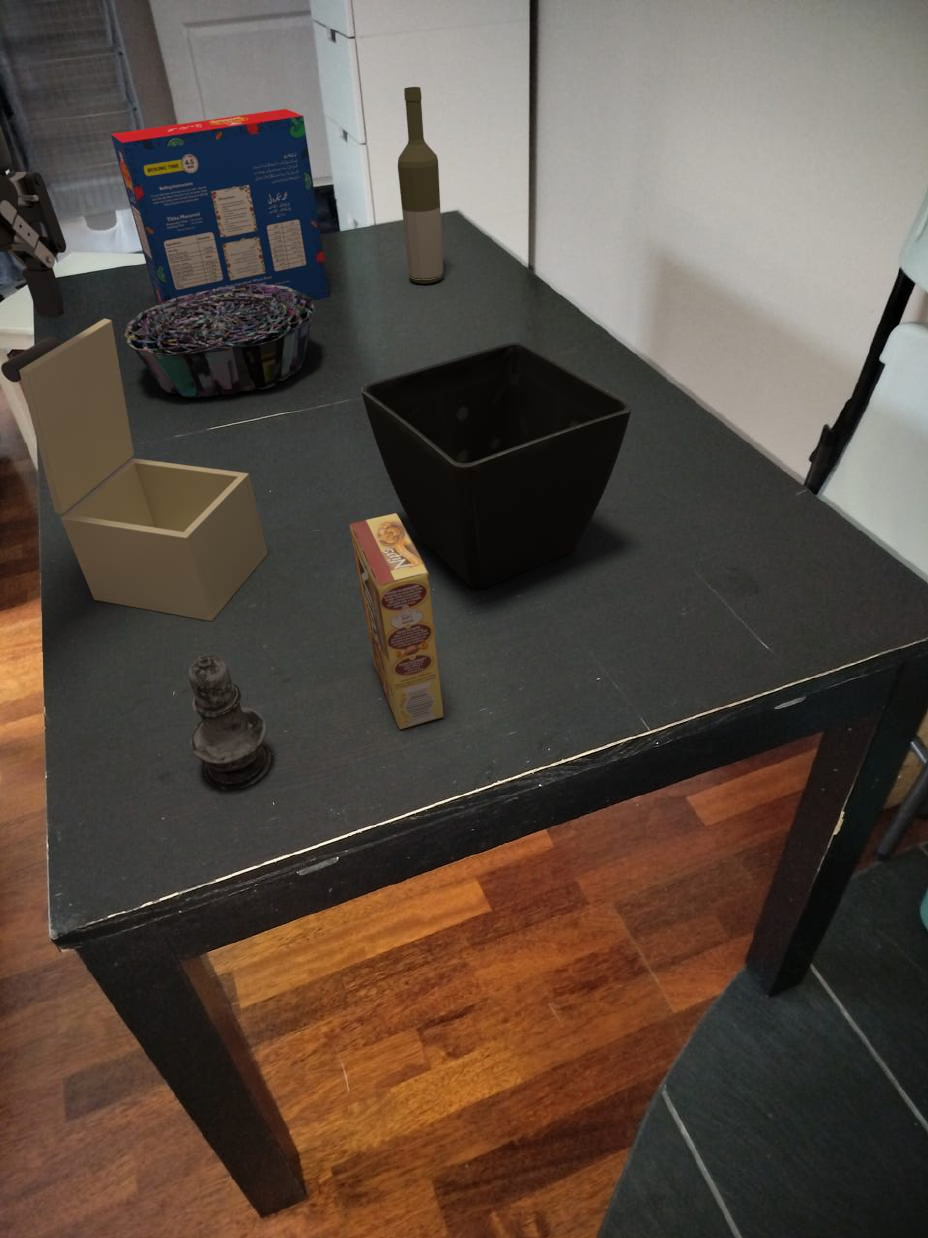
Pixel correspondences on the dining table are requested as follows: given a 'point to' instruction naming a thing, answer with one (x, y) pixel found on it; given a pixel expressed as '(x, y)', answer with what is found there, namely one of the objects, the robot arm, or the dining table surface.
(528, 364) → the flower pot
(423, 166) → the bottle
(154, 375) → the decorative bowl
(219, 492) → the tan lidded cardboard box
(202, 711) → the salt shaker
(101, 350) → the lid
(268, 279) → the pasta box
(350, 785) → the dining table surface
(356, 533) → the candy box
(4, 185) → the robot arm
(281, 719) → the dining table surface
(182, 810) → the dining table surface
